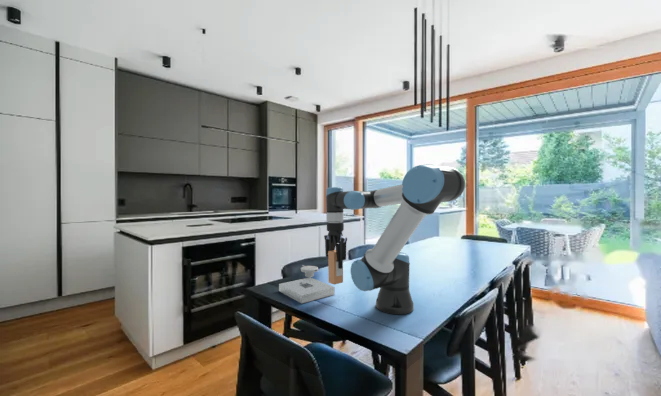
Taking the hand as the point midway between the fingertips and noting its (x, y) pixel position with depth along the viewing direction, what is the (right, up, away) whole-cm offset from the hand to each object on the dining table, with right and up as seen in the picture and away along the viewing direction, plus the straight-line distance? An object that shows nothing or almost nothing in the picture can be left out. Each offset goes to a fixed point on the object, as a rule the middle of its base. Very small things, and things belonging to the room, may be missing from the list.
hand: (335, 274), depth 132 cm
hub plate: (-14, -11, +8) cm, 19 cm away
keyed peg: (0, -4, 0) cm, 4 cm away
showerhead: (-14, -10, +29) cm, 34 cm away
